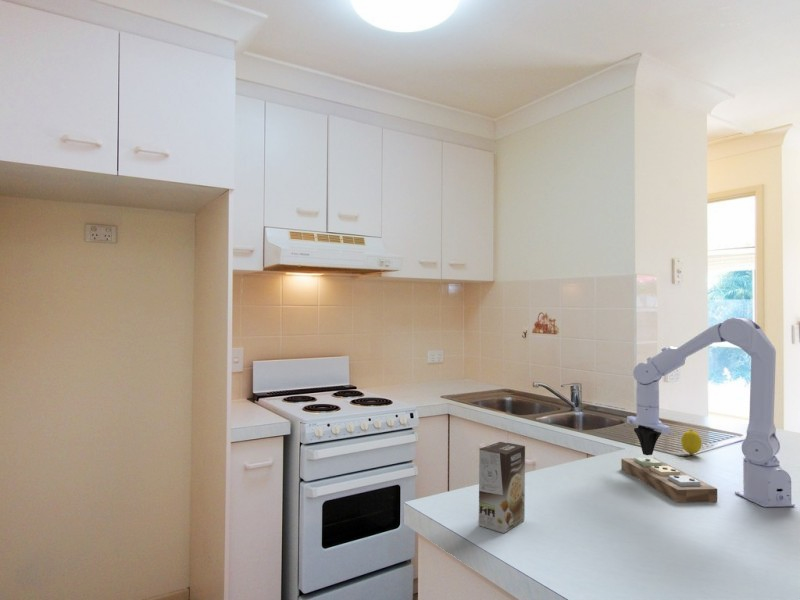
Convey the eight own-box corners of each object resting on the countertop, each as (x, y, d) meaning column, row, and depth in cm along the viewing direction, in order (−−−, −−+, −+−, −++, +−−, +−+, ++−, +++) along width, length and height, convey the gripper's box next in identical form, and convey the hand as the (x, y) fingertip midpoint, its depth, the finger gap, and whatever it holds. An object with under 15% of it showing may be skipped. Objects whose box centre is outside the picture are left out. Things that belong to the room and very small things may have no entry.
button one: (661, 472, 141) (661, 461, 141) (644, 473, 141) (644, 462, 141) (651, 467, 146) (651, 456, 146) (634, 467, 146) (634, 457, 146)
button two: (700, 493, 125) (700, 480, 125) (680, 493, 125) (680, 481, 125) (687, 486, 130) (687, 474, 130) (668, 486, 130) (668, 474, 130)
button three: (680, 482, 133) (679, 470, 133) (661, 482, 133) (661, 471, 133) (668, 476, 138) (668, 465, 138) (650, 476, 138) (650, 465, 138)
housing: (717, 501, 123) (717, 488, 123) (677, 502, 122) (677, 489, 122) (654, 468, 149) (654, 458, 149) (621, 469, 148) (621, 458, 148)
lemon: (704, 457, 160) (704, 432, 160) (684, 456, 161) (684, 431, 162) (697, 453, 166) (697, 428, 166) (679, 452, 167) (678, 427, 167)
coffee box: (505, 534, 104) (505, 454, 104) (477, 525, 108) (478, 448, 108) (525, 520, 111) (525, 445, 111) (499, 512, 115) (499, 440, 115)
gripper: (679, 409, 138) (679, 460, 138) (641, 400, 152) (641, 446, 152) (657, 410, 136) (657, 462, 136) (620, 401, 150) (620, 448, 150)
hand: (647, 454), depth 144 cm, fingers closed
